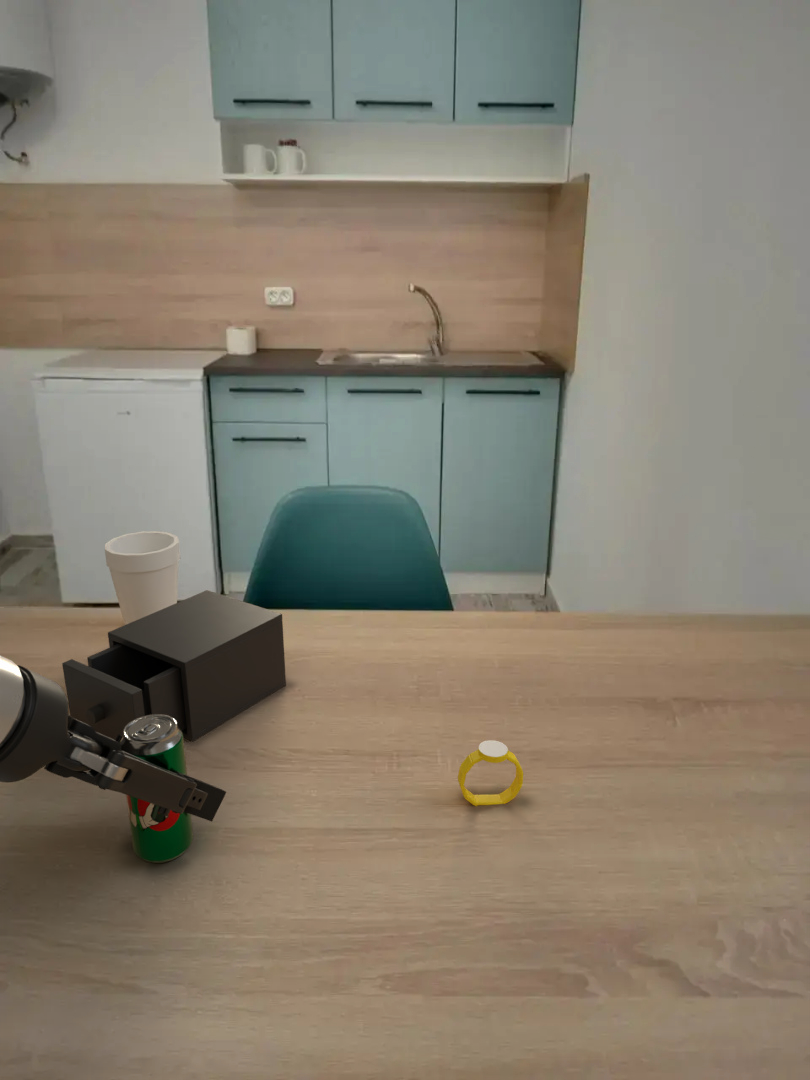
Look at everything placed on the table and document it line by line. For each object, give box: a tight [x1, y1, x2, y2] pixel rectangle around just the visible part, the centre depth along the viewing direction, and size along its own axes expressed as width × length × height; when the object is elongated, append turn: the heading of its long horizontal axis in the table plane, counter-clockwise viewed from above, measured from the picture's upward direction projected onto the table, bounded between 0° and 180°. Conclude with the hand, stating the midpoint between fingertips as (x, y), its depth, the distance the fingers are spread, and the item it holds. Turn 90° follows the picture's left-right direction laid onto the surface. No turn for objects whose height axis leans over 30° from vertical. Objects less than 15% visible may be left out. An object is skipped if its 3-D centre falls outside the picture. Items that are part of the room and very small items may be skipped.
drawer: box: [61, 643, 187, 740], centre depth 90 cm, size 15×11×8 cm
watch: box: [457, 739, 524, 807], centre depth 78 cm, size 6×3×6 cm, turn 98°
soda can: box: [120, 714, 194, 864], centre depth 70 cm, size 5×5×12 cm
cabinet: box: [107, 589, 287, 743], centre depth 95 cm, size 15×13×10 cm
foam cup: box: [104, 530, 181, 625], centre depth 111 cm, size 10×9×13 cm
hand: (193, 793), depth 74 cm, fingers closed on soda can, 5 cm apart
